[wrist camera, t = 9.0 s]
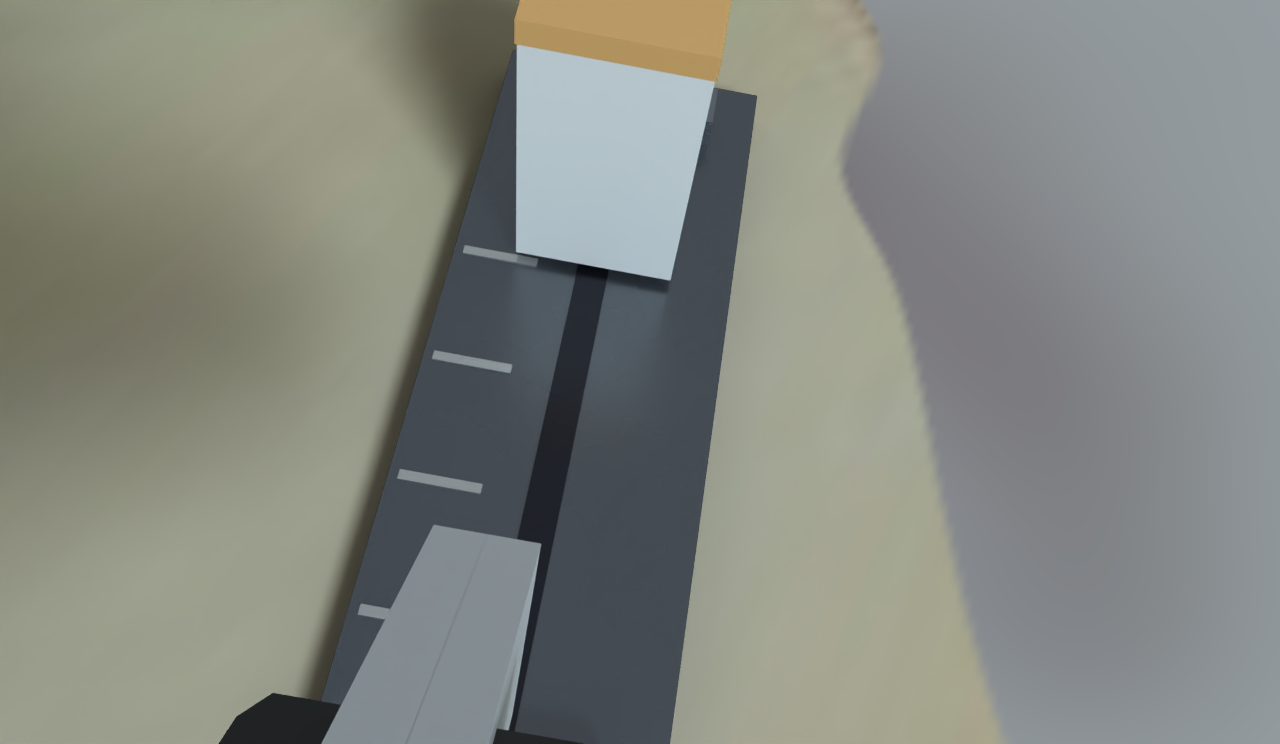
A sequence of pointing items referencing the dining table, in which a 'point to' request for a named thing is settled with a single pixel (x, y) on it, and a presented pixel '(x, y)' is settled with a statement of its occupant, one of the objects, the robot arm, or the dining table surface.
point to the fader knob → (611, 126)
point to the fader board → (569, 442)
